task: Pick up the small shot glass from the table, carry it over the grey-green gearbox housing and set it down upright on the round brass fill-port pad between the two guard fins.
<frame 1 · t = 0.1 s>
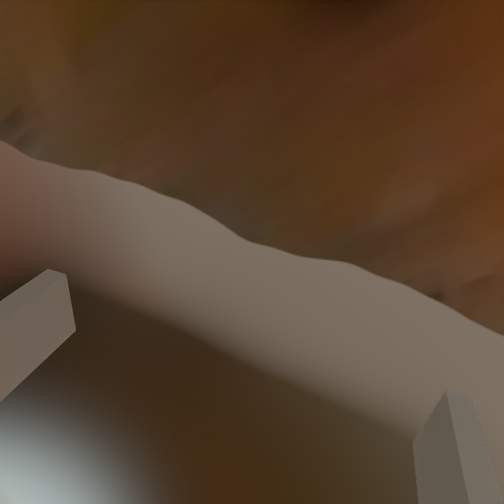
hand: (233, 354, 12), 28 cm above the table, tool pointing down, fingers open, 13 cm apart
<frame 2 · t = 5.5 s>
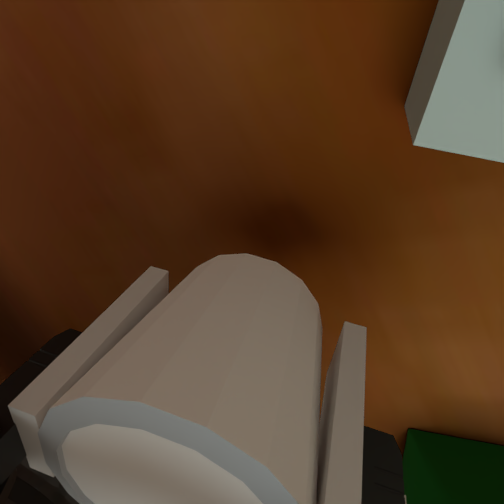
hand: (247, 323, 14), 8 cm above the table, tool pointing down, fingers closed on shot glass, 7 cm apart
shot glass: (250, 312, 14), point 7 cm above the table, touching gripper
milk carton: (458, 467, 25), on the table
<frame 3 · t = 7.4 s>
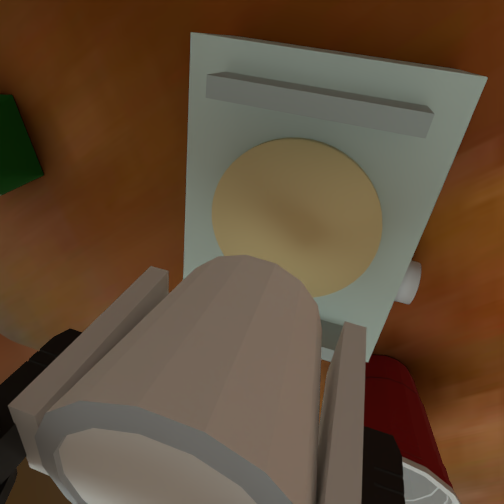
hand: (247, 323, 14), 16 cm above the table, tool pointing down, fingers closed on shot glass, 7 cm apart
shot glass: (250, 314, 14), point 16 cm above the table, touching gripper
milk carton: (3, 138, 34), on the table
plastic cup: (376, 374, 35), on the table
gearbox: (310, 185, 27), on the table
when the fingers open (8 cm above the table, at t = 9.5 s): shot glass stays where it is, resting on gearbox.
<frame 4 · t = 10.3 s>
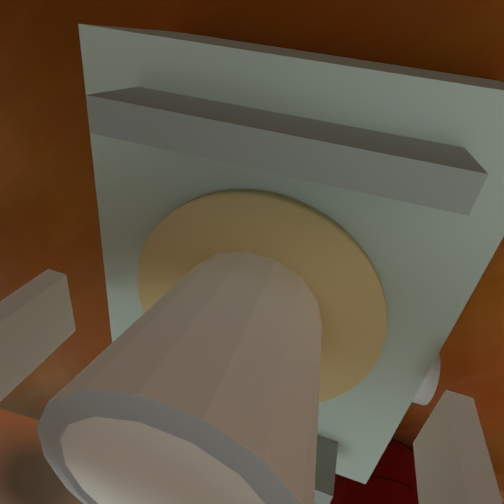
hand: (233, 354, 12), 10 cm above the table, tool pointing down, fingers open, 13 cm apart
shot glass: (250, 311, 14), point 7 cm above the table, touching gearbox
plastic cup: (377, 457, 28), on the table
gearbox: (289, 233, 21), on the table
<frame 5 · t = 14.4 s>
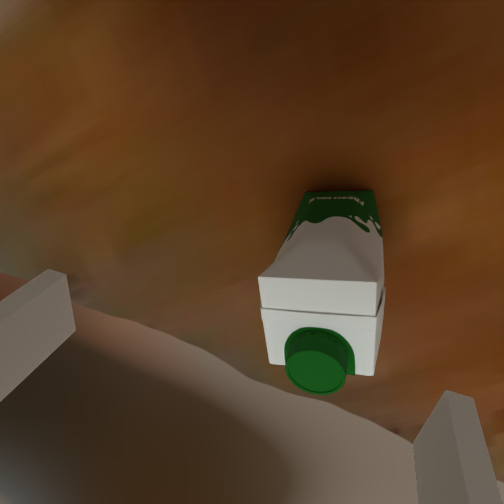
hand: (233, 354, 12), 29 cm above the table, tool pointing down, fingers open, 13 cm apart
milk carton: (338, 220, 40), on the table
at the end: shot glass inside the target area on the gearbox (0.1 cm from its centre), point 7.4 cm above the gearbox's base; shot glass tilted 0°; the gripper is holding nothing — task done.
